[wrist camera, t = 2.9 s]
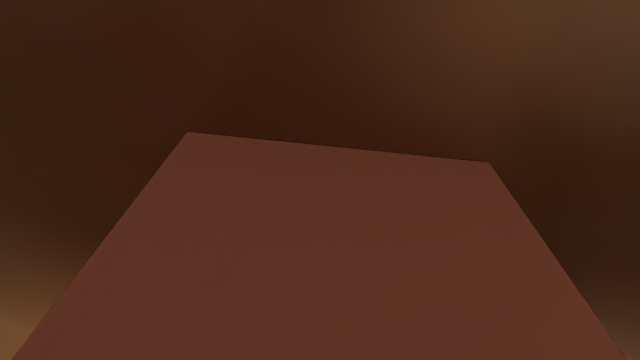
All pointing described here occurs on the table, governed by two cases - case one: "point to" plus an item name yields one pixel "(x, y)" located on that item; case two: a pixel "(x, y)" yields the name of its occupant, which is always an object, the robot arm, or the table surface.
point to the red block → (320, 265)
